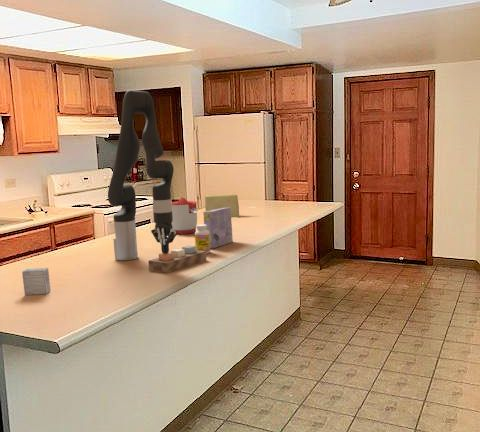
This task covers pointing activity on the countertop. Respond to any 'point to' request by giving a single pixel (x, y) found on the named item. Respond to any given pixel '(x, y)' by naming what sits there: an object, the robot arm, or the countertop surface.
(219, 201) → the cheese
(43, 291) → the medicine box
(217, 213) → the cake pan box
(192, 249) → the slate key
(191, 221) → the citrus juicer
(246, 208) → the countertop surface
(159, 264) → the key panel
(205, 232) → the supplement bottle
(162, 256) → the pink cube
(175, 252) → the cream cube
